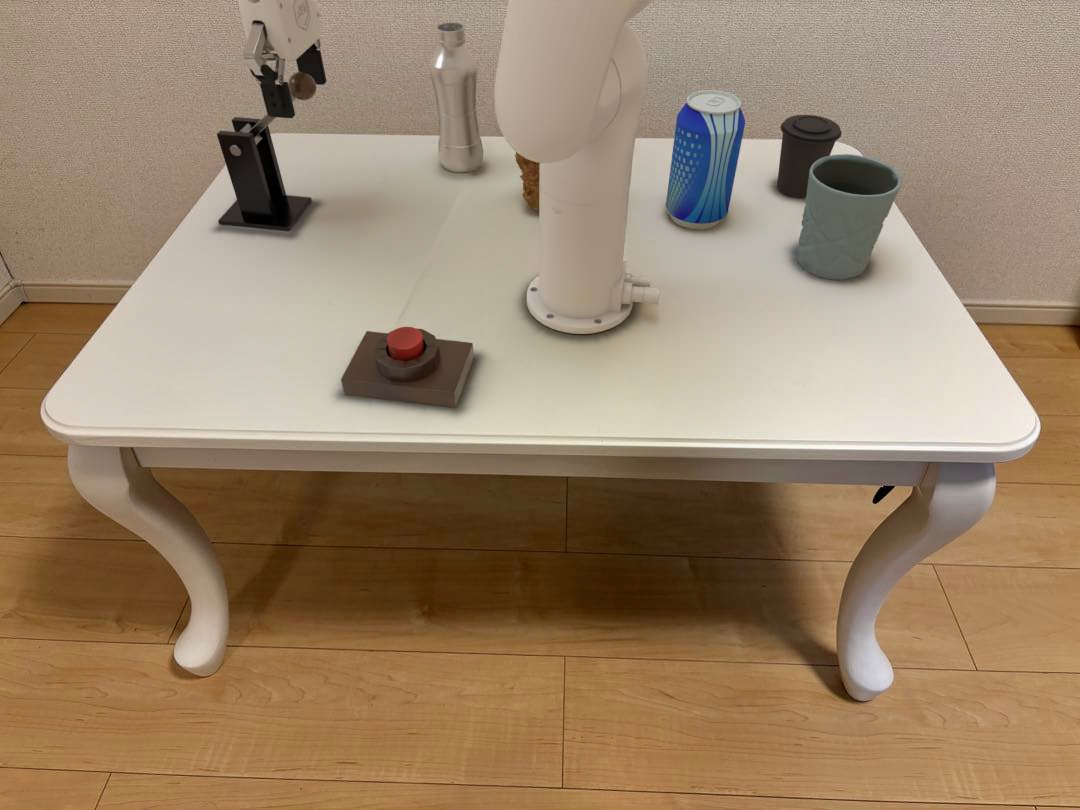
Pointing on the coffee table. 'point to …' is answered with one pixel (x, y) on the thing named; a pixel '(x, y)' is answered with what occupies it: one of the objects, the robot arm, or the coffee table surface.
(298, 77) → the lever
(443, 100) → the silver metal bottle
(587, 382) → the coffee table surface
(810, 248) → the green embossed tumbler
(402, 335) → the button
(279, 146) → the coffee table surface
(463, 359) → the button block
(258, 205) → the bracket
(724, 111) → the beer can
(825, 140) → the coffee cup
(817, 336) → the coffee table surface
